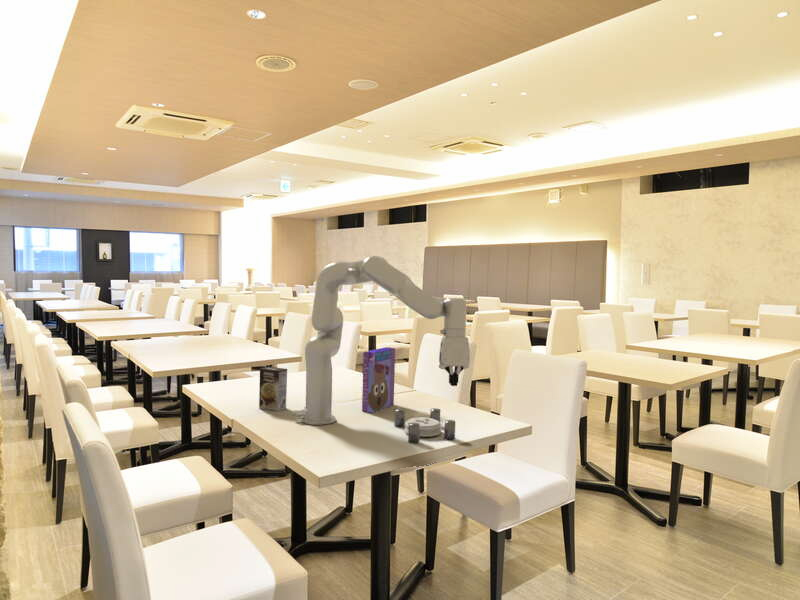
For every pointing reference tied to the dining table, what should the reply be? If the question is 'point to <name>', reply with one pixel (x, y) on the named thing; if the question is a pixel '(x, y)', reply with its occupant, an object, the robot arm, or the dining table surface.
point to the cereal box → (378, 379)
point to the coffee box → (273, 388)
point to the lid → (425, 426)
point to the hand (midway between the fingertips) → (453, 385)
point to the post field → (414, 427)
